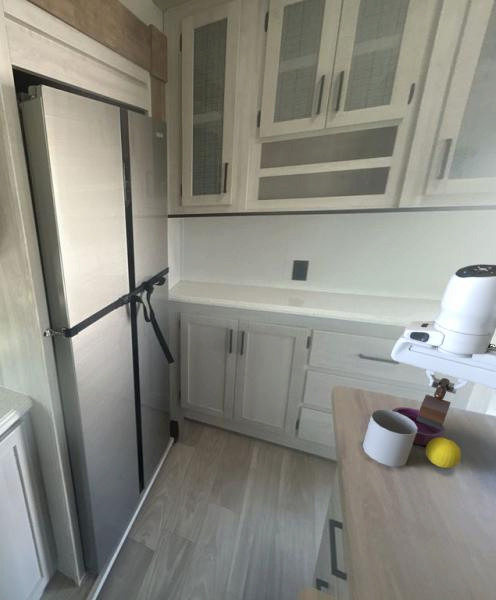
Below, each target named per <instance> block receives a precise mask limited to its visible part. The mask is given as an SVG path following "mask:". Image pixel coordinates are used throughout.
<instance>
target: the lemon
mask: <svg viewBox="0 0 496 600" xmlns="http://www.w3.org/2000/svg"><path fill="white" fill-rule="evenodd" d="M425 455H426V457H427V459H428V461H430V463H432V464H433V465H435V466H436V467H440V468H443V469H452V468H454V467H456V466H457V465H458V464H459V463H460V461H461V459H462V452H461V448H460V447H459V446H458V444H456V443H455V442H454V441H452V440H451V439H449V438H445V437H442V438H434V439H432V440H431V441H430V442H429V443H428V444H427V446H425Z"/></svg>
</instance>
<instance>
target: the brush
mask: <svg viewBox="0 0 496 600" xmlns="http://www.w3.org/2000/svg"><path fill="white" fill-rule="evenodd" d="M449 382H450V383H451V381H450V380H449V379H448V378H446V377H443V378H440V382H439V385H438V387H437V388H435V391H434V394H433V395H430V394H428V393H427V394H425V396H424V398H423V400H422V402H421V405H420V408H419V409H418V410H419V414H418V417H417V421H419V422H422V423H425V424H427V425H430V426H433V427H435V428H438V429H441V428H442V425H444V423H445V420H446V418H447V415H448V411H449V410H450V409H449V408H450V406H451V404H452V403H451V401H449V400H445V399H444V398H445V397H446V393H447V389H448V385H449Z"/></svg>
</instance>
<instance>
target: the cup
mask: <svg viewBox="0 0 496 600" xmlns="http://www.w3.org/2000/svg"><path fill="white" fill-rule="evenodd" d="M367 425H368V426H367V429H366V433H365V437H364V440H363V443H362V448H363V450H364V452H365V453H366V454H367V456H369V458H371V459H373V460H374V461H376V462H377V463H379V464H381V465H384V466H388V467H391V468H392V467H393V468H401V467H403V466H405V465H407V461H408V459H409V455H410V453H411V449H412V446H413V445H414V443H413V441H414V438H415V436H416V433H417V430H418V427H417V426H416V424H415V422H413V421H412V420H411V419H409V418H408V417H406V416H404V415H402V414H400V413H398V412H394V411H392V410H390V409H377V410H374V411H372V413H371V414H370V418H369V421H368V424H367Z"/></svg>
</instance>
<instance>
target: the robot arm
mask: <svg viewBox="0 0 496 600" xmlns="http://www.w3.org/2000/svg"><path fill="white" fill-rule="evenodd" d="M495 332H496V264H484V263H483V264H471V265H467V266H464V267H461V268H458V269H457V270H456V271H455V272H454V273H453V274H452V275H451V276H450V278H449V281H448V282H447V284H446V287H445V289H444V291H443V294H442V297H441V300H440V312H439V314H437V316H436V317H435V320H428V321H427V320H424V321H423V320H422V321H421V320H420V321H419V320H418V321H417V320H416V321H411V322H409V324H407V326H406V327H405V329H404V332H402V334H401V335H400V336H399V337H398V339H397V341H396V342H395V344H394V346H393V347H392V350H391V354H390V358H391V359H392V360H393V361H395V362H398V363H402V364H406V365H409V366H412V367H416V368H419V369H423V370H426V371H425V374H426V376H427V378H428V380H429V383H428V387H431V388H434V389H437V387H438V385H439V382H440V380H441V378H436V375H435V373H438V374H442V375H445V376H449V377H453V378H456V379H458V380H457V382H451V381H450V382H449V385H448V389H447V391H446V393H451V394H454V395H456V393H457V391H458V389H461V388H463V387H465V386H467V384H468V382H471V383H474V384H478V385H481V386H485V387H487V388H492V389H495V390H496V344H494V343H492V339H493V337H494V334H495Z"/></svg>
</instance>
